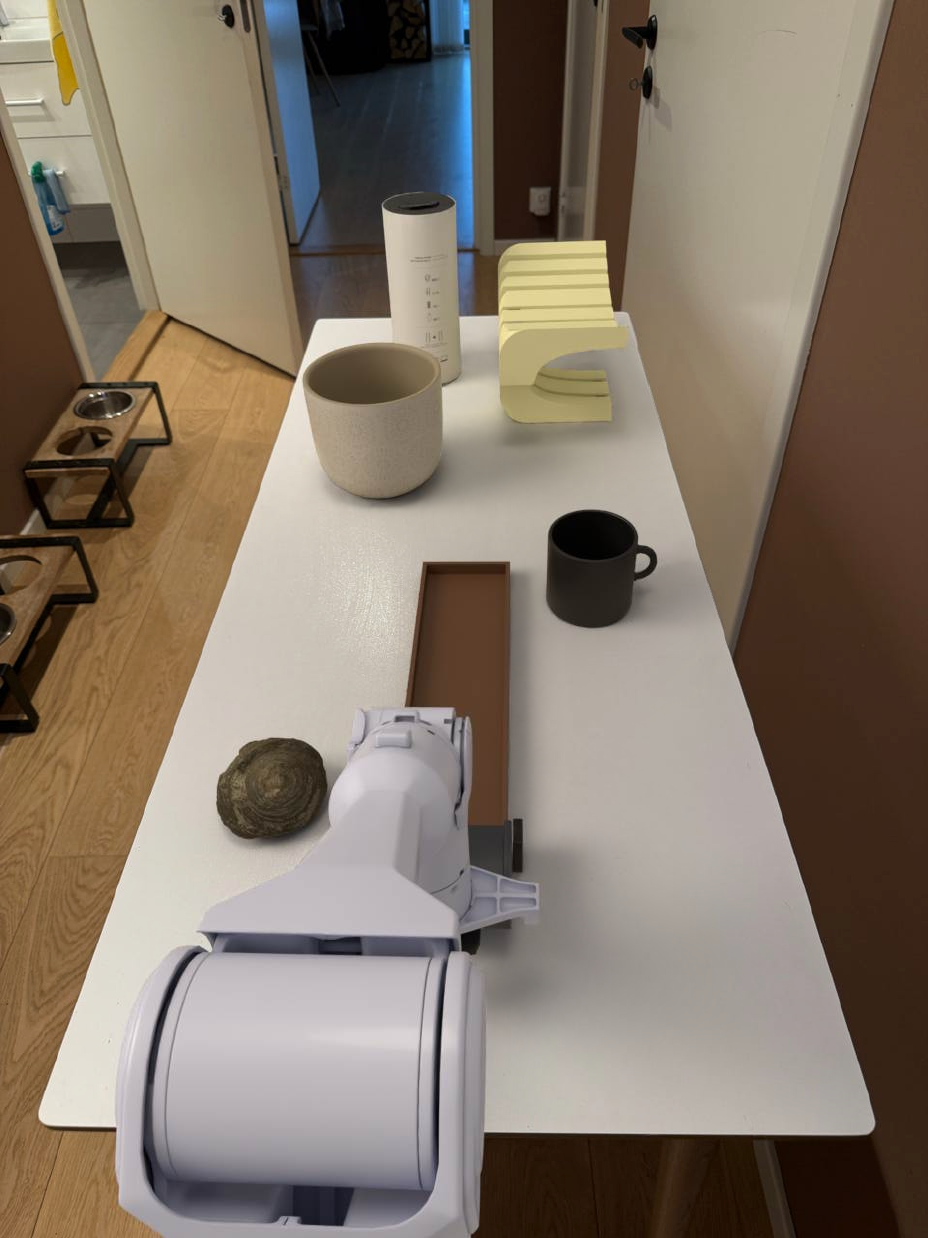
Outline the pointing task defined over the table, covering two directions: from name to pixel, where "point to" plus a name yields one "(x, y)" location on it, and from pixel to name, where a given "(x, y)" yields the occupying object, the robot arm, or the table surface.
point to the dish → (492, 853)
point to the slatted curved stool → (554, 330)
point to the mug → (593, 567)
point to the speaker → (424, 275)
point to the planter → (376, 417)
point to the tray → (468, 668)
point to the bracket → (517, 845)
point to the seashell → (271, 788)
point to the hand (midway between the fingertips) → (435, 965)
